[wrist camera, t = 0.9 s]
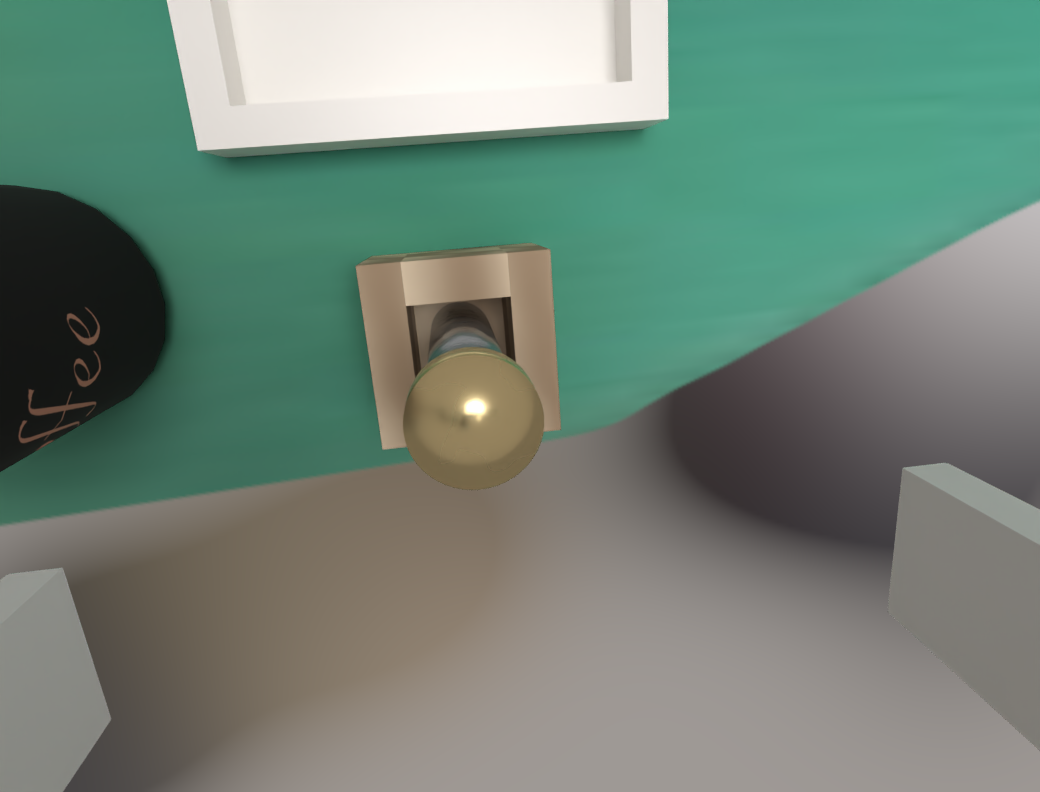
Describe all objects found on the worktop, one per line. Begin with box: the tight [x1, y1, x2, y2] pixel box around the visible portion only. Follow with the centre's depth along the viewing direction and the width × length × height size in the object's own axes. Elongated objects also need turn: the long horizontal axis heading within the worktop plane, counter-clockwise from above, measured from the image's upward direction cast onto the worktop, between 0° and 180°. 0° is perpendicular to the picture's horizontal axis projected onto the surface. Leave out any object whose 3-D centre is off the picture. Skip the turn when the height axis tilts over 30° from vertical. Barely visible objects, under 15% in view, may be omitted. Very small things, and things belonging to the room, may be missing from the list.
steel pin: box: [403, 302, 544, 490], centre depth 25 cm, size 4×4×15 cm
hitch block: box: [356, 243, 561, 449], centre depth 30 cm, size 8×8×6 cm
